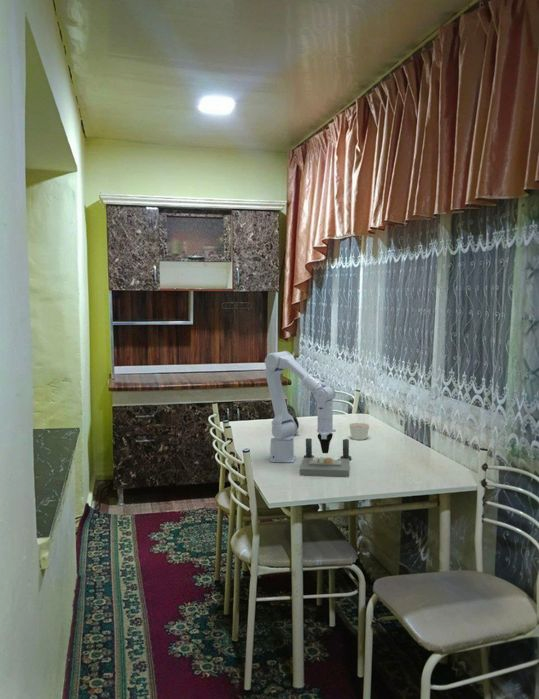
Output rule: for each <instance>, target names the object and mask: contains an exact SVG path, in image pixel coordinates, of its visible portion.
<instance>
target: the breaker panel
mask: <svg viewBox="0 0 539 699" xmlns="http://www.w3.org/2000/svg"><path fill="white" fill-rule="evenodd" d="M301 475H304V476H303V477H305V476H306V477H311V476H312V477H337V478H339V477H340V478H341V477H342V478H349V477H350V461H349V459H340V458H338V457H317V456H314V457H313V458H304V457H303V458H302V461H301V464H300V467H299V476H301Z"/></svg>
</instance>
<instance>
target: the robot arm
mask: <svg viewBox="0 0 539 699" xmlns="http://www.w3.org/2000/svg"><path fill="white" fill-rule="evenodd" d="M264 364H265V376H266V382H267V386H268V391H269V396H270V400H271V404H272V410H273V413H274V417H273V419H272V421H271V434H272V437H271V438H270V443H269V444H270V448H269V450H270V460H269V461H271V463H295V460H296V458H297V457H296V455H295V453H294V450H295V449H294V448H295V446H294V438H295V435H296V434H297V432H298V430H297V425H296V423H295V422H294V419H293V417H292V416H291V415H290V414H289V413H288V410H287V406H286V404H287V402H286V398H285V393H284V388H283V384H282V381H281V374H282V373H283V371H284V370H289V371H290V372H291V373H293V374H294V375H295V376H297V377H298V379H300V380H302V385H303V386H304V387H305V388H306V389H307V390H308V391H309V392H310V393H311V394H313V397H314V400H315V402H316V407H317V429H316V431H317V440H318V442H319V443H320V448H321V452H322V454H329V451H330V444H331V441H332V439H333V436H334V435H333V433H336V431H337V429H336V428H334V426H333V424H334V423H333V416H334V414H333V407H334V406H333V400H334V399H335V398H336V391H335V388H334V387H333V385H332V386H331V385H327V384H326V383H325V382H323V381H322V380H321V379H319V377H318V376H317V374H314V373H308V372H307V371H306V370H305V368H303V367H302V365H301V364H299V363H298V361H297V360H296V359H295V357H294V355H293V354H291V352H289V351H287V350H282V351H277V352H270V353H268V354H267V356H266V357H265V359H264ZM283 421H284V422H283Z"/></svg>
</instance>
